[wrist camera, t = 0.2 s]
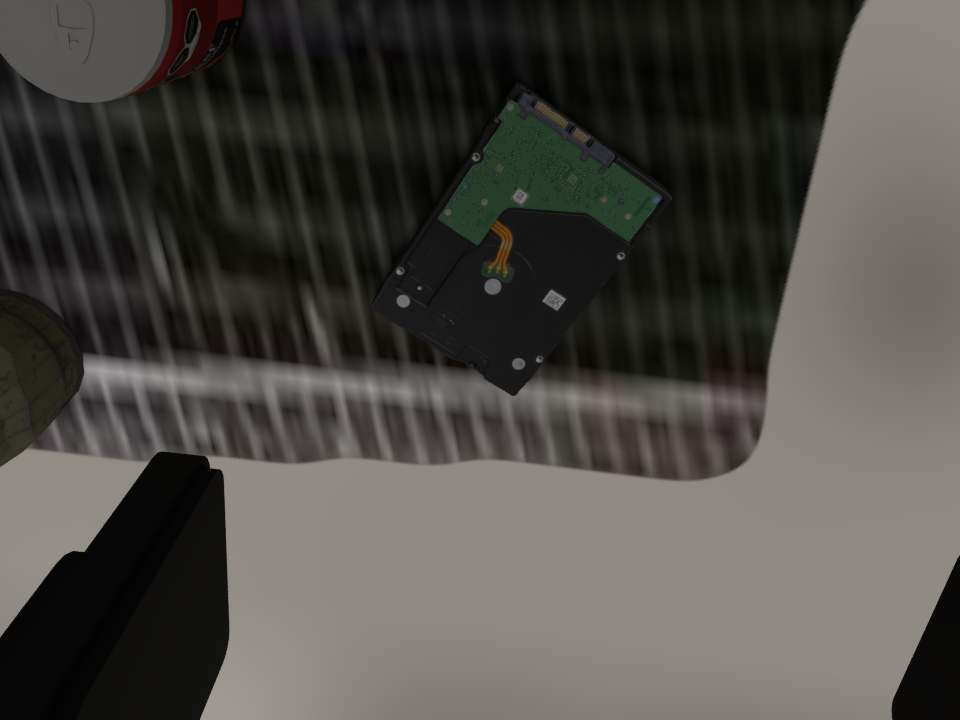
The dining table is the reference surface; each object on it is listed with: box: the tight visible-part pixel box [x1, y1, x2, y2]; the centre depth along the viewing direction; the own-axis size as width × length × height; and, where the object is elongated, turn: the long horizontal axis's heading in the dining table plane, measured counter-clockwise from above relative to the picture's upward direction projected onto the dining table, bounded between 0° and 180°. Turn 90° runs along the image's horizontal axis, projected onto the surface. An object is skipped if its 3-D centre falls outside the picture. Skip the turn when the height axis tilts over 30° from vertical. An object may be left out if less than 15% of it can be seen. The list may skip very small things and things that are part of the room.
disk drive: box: [371, 82, 672, 396], centre depth 46 cm, size 10×3×15 cm
